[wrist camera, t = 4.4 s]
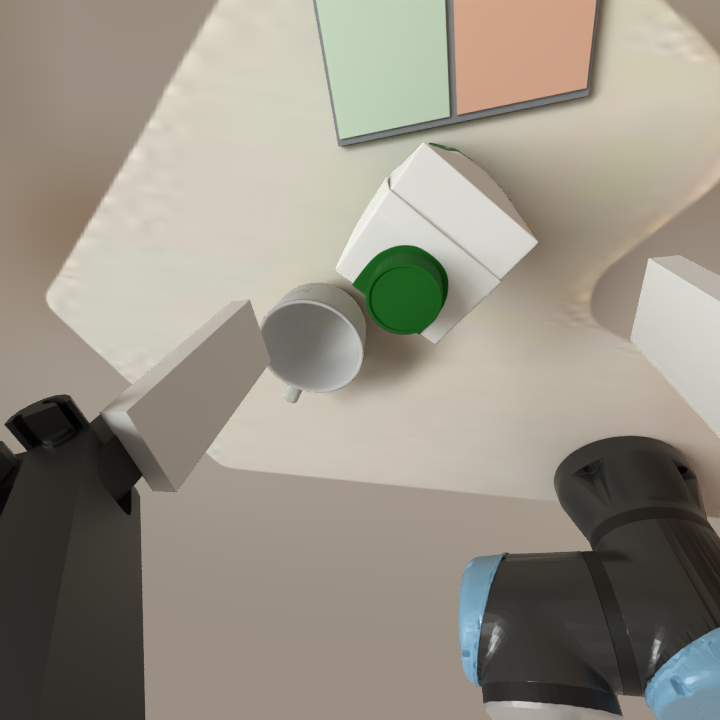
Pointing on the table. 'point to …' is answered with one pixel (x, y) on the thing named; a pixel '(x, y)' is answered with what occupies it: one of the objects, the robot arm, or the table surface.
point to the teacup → (315, 339)
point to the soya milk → (433, 243)
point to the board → (449, 60)
